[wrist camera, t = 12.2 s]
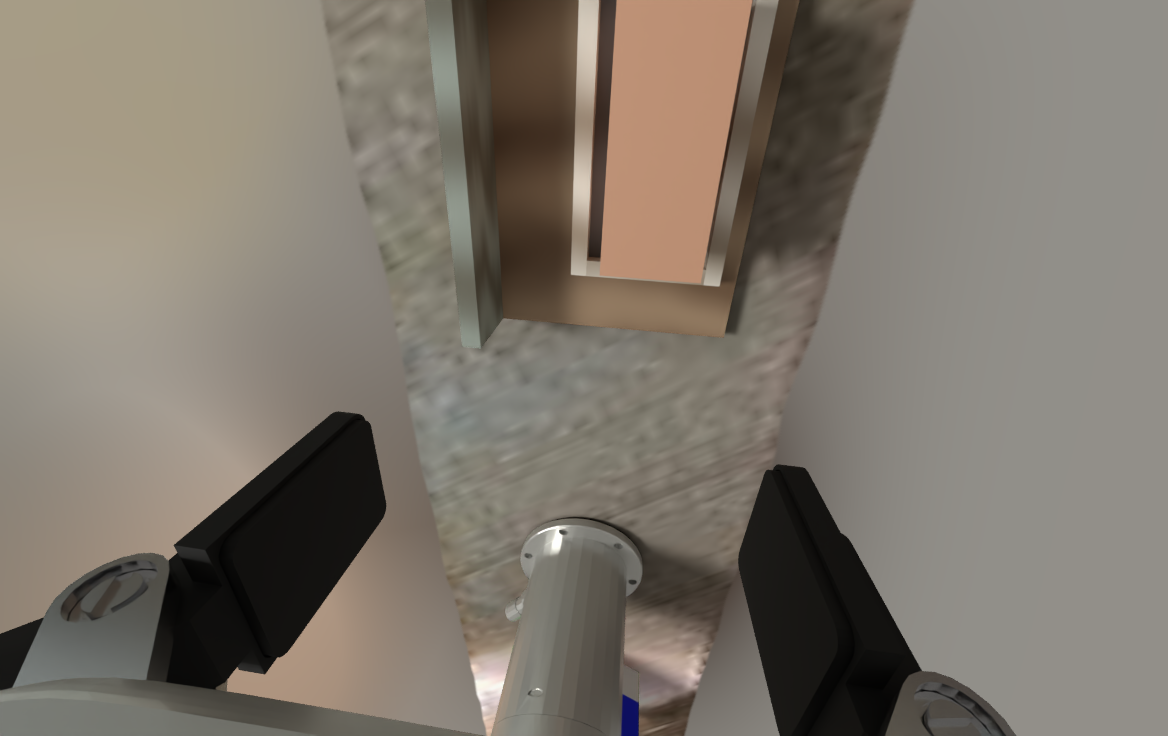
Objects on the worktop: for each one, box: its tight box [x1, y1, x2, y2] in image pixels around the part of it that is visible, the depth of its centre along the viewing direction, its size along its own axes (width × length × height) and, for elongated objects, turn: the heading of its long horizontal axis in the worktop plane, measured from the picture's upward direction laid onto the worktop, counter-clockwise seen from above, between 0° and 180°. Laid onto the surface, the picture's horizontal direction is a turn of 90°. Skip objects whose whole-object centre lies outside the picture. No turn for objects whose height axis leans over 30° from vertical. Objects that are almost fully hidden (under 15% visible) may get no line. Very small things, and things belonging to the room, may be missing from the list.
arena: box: [425, 0, 800, 348], centre depth 23 cm, size 22×17×6 cm
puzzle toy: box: [621, 665, 639, 736], centre depth 51 cm, size 10×10×10 cm
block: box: [600, 0, 752, 283], centre depth 21 cm, size 12×5×7 cm, turn 178°
